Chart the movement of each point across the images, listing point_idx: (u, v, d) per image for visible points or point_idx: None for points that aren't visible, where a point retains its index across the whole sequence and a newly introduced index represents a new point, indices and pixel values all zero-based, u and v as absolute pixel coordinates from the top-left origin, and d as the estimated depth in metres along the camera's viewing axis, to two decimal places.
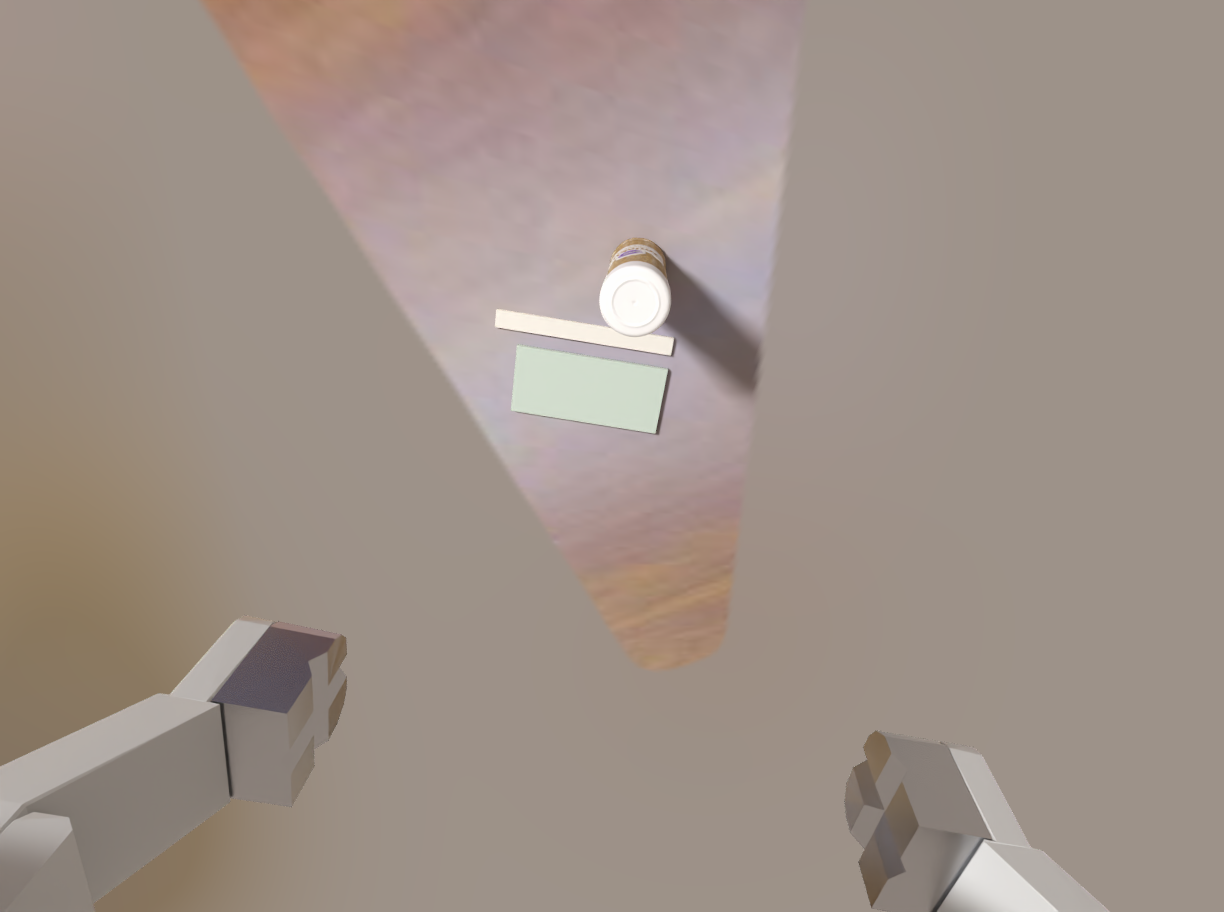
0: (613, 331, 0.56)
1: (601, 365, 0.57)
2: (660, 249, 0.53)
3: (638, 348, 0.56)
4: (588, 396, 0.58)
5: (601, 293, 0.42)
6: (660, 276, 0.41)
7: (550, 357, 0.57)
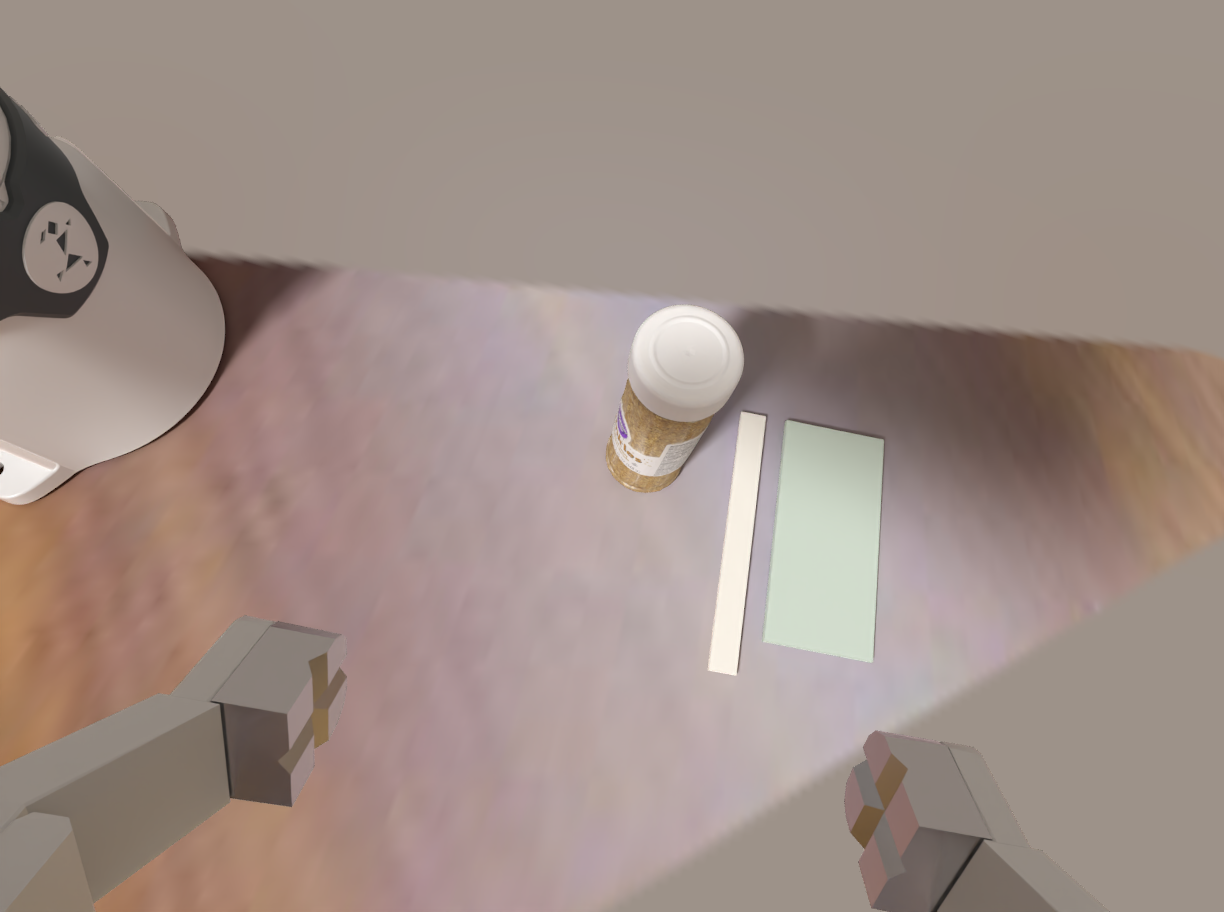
0: (735, 492, 0.38)
1: (786, 512, 0.38)
2: None
3: (758, 459, 0.39)
4: (837, 534, 0.38)
5: (675, 401, 0.26)
6: (649, 317, 0.27)
7: (779, 588, 0.37)
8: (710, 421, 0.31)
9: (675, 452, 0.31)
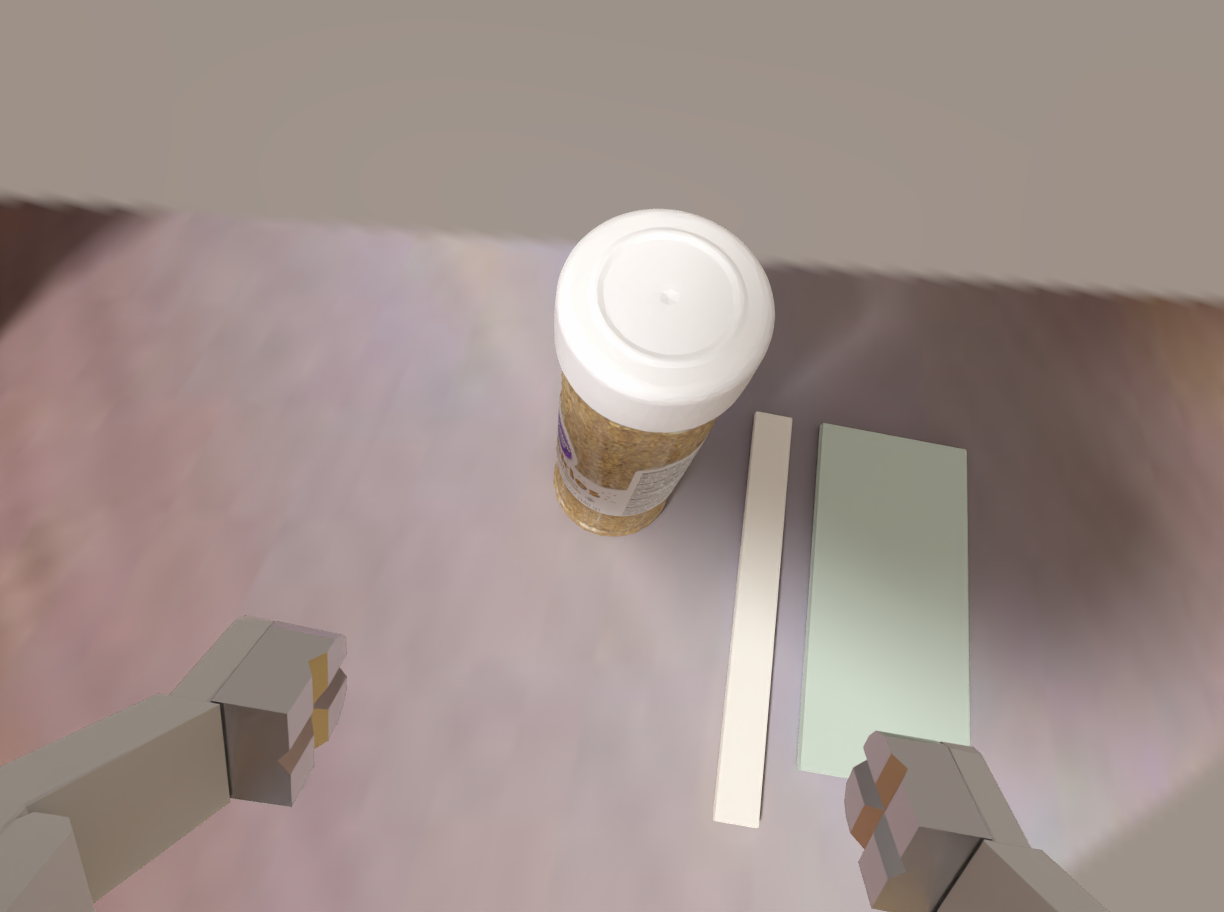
0: (749, 533, 0.25)
1: (828, 562, 0.25)
2: None
3: (783, 481, 0.26)
4: (905, 594, 0.25)
5: (641, 393, 0.13)
6: (590, 232, 0.14)
7: (821, 682, 0.24)
8: None
9: (651, 482, 0.18)
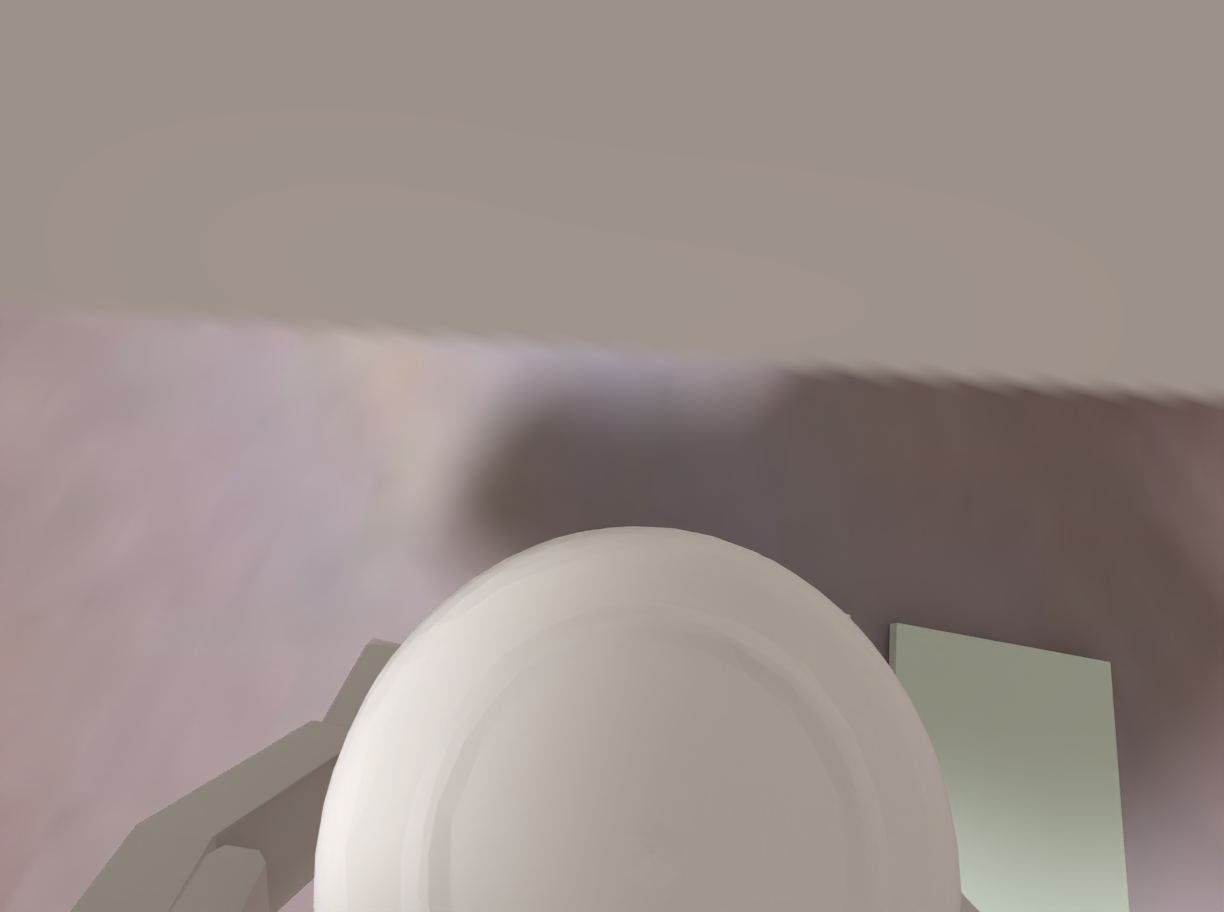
0: None
1: None
2: None
3: None
4: None
5: None
6: (437, 609, 0.05)
7: None
8: None
9: None
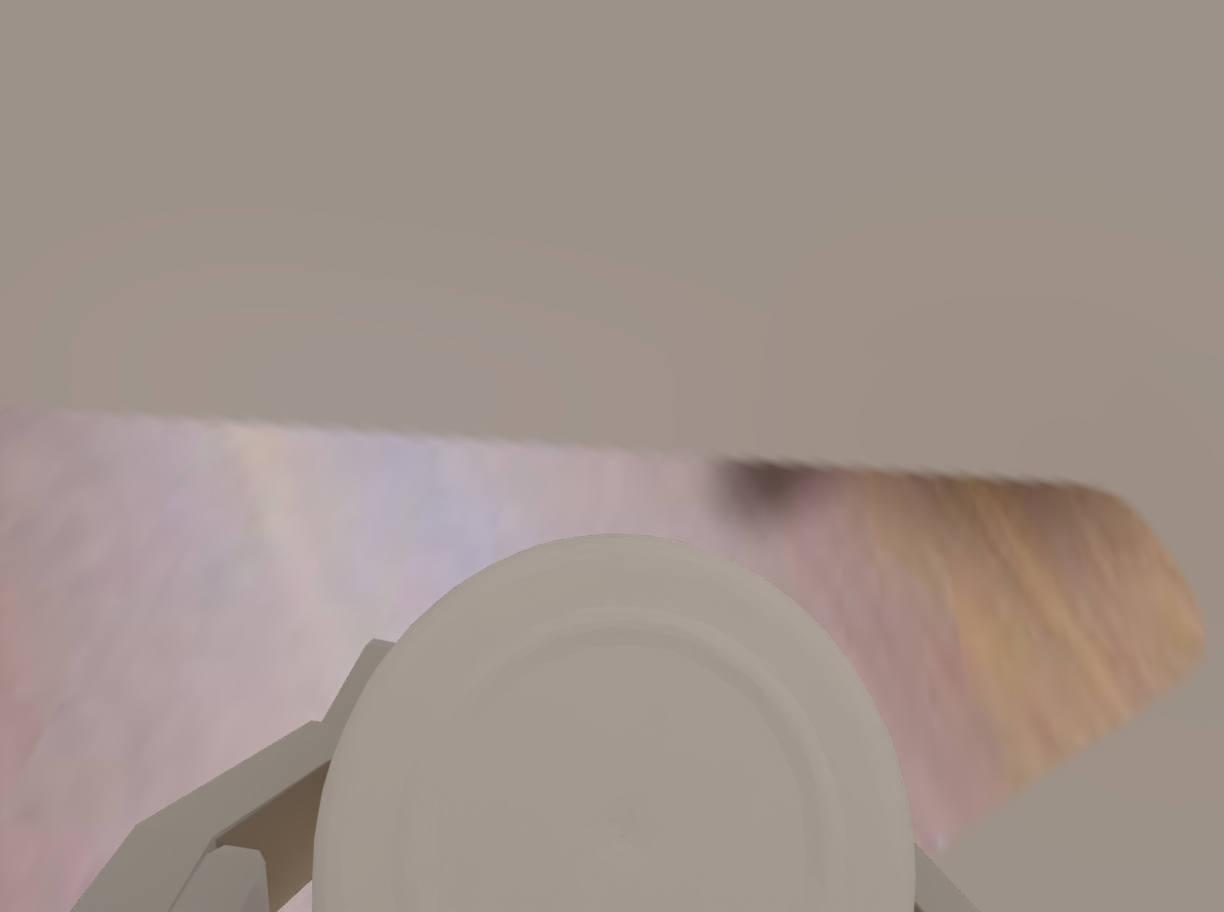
0: None
1: None
2: None
3: None
4: None
5: None
6: (428, 612, 0.05)
7: None
8: None
9: None
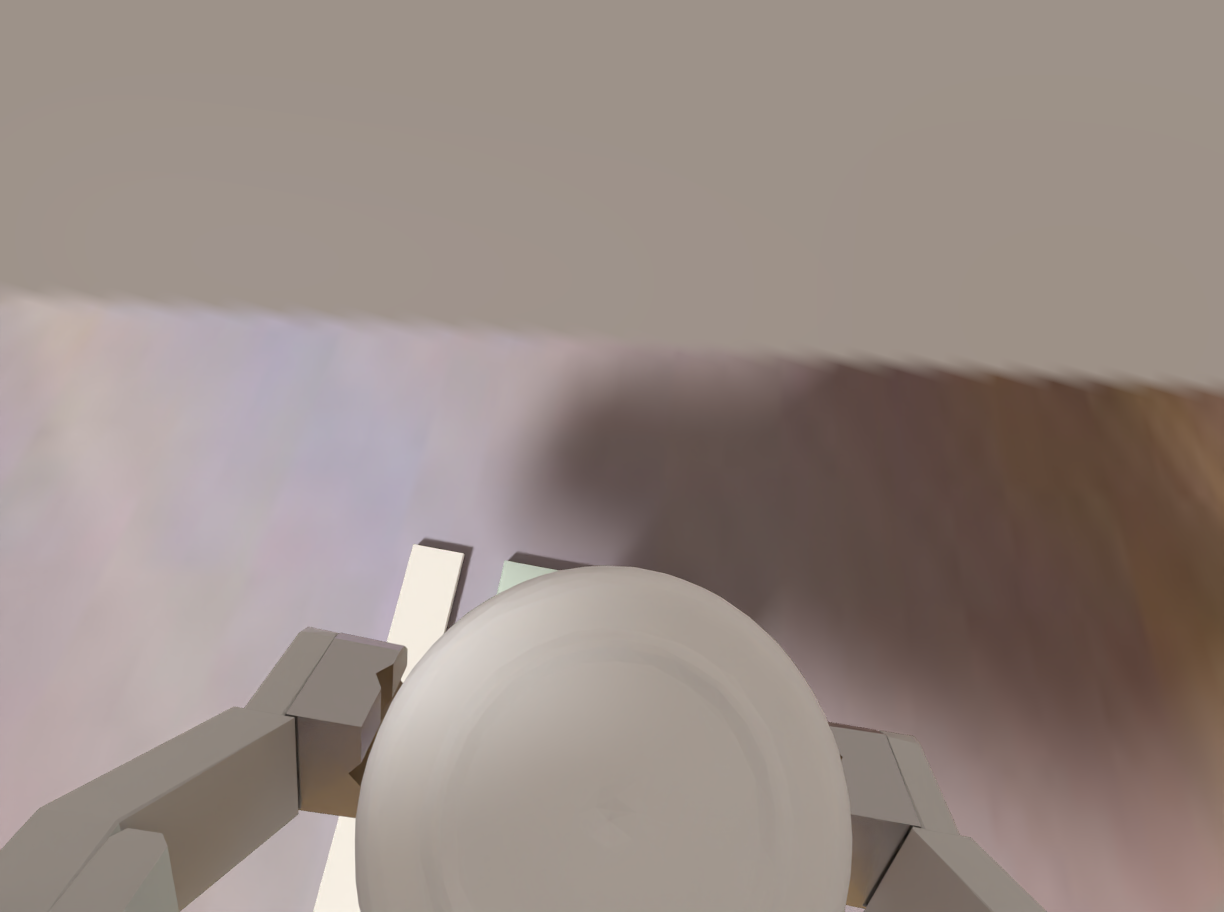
0: None
1: None
2: None
3: None
4: None
5: None
6: (448, 632, 0.06)
7: None
8: None
9: None
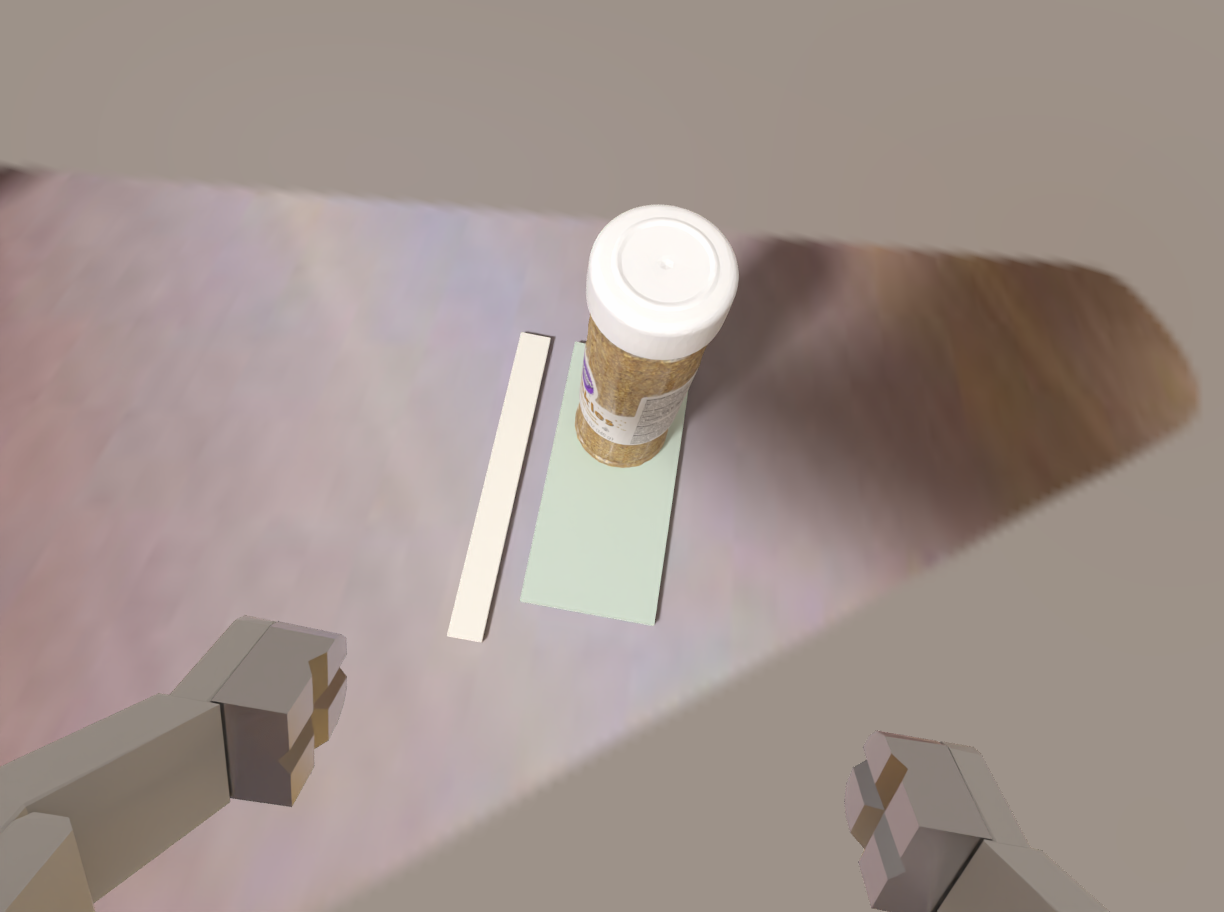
0: (503, 425, 0.32)
1: (564, 447, 0.32)
2: None
3: (535, 386, 0.33)
4: (623, 473, 0.32)
5: (647, 328, 0.19)
6: (612, 220, 0.20)
7: (545, 537, 0.30)
8: (697, 368, 0.24)
9: (653, 409, 0.25)
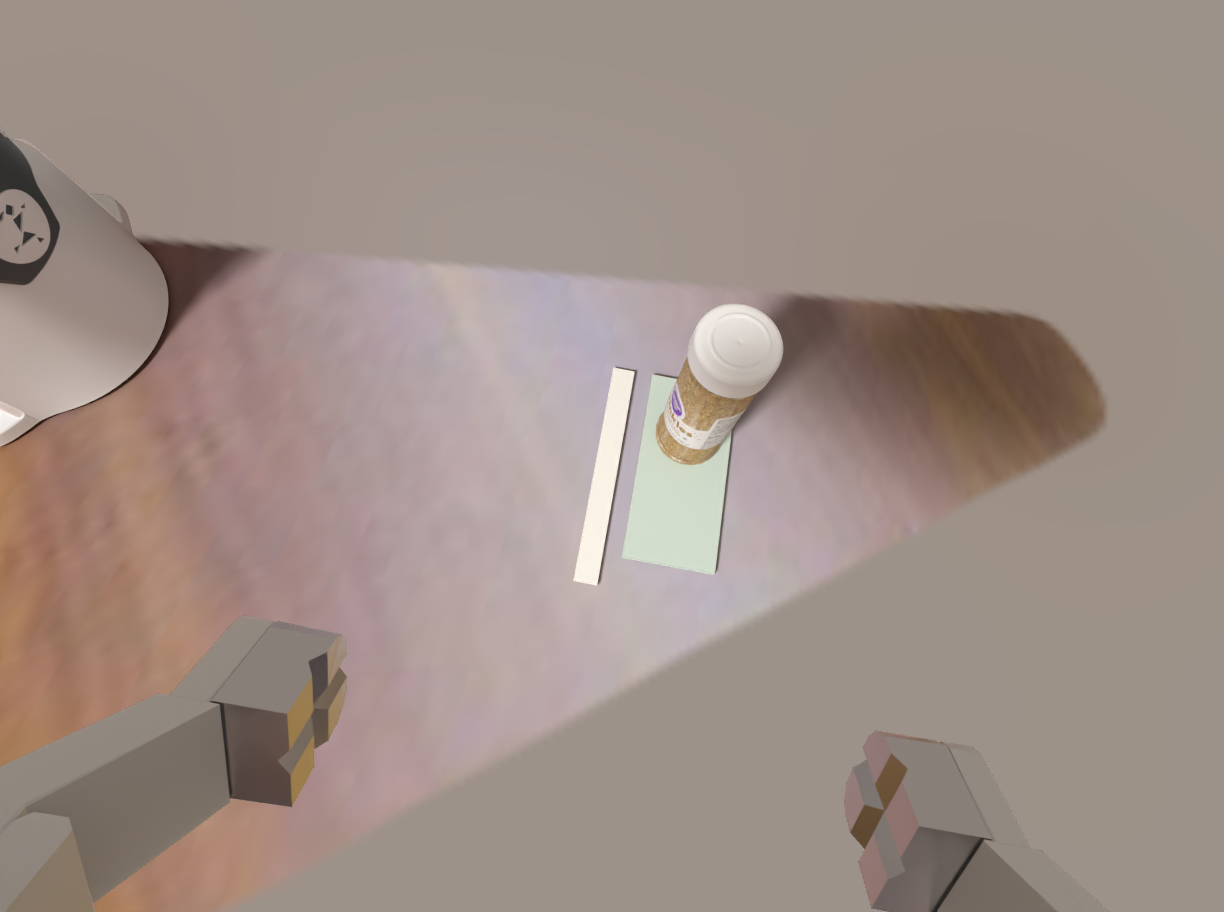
0: (604, 434, 0.45)
1: (648, 450, 0.45)
2: None
3: (625, 407, 0.46)
4: (690, 468, 0.45)
5: (730, 381, 0.32)
6: (706, 314, 0.33)
7: (638, 513, 0.43)
8: (751, 400, 0.37)
9: (721, 426, 0.38)
